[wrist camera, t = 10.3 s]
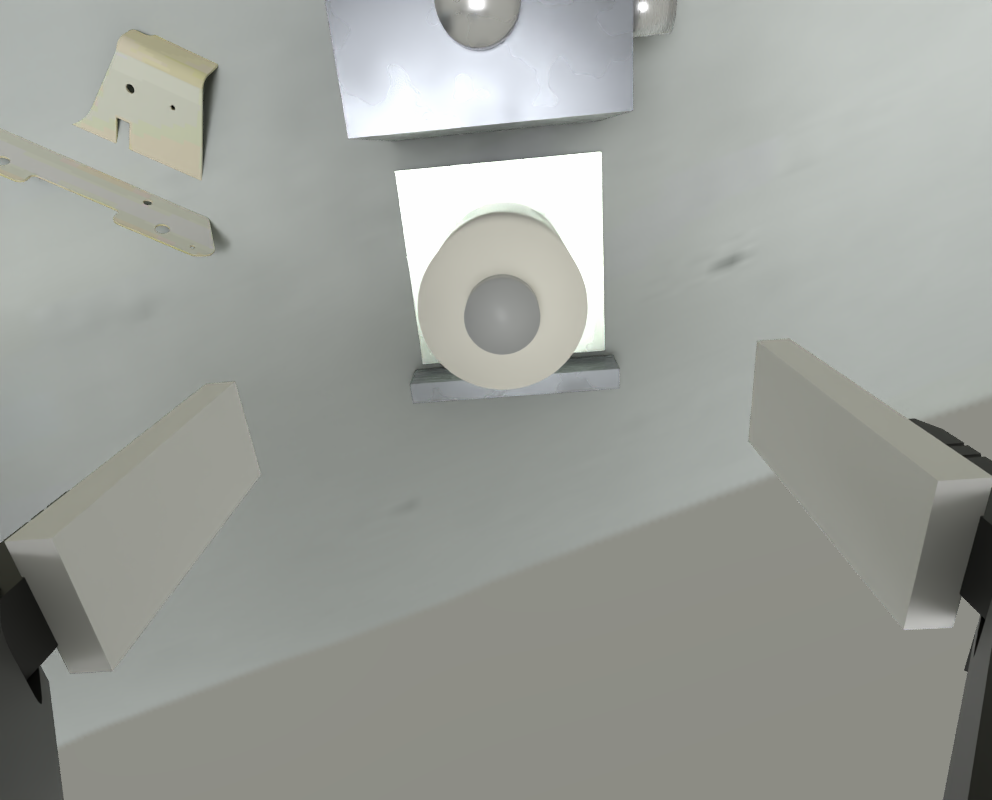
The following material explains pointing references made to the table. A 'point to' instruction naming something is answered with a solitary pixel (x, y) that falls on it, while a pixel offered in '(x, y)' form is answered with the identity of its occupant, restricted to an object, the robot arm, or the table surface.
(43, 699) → the robot arm
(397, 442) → the table surface
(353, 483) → the table surface
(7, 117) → the table surface
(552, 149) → the table surface
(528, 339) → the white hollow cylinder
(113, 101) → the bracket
